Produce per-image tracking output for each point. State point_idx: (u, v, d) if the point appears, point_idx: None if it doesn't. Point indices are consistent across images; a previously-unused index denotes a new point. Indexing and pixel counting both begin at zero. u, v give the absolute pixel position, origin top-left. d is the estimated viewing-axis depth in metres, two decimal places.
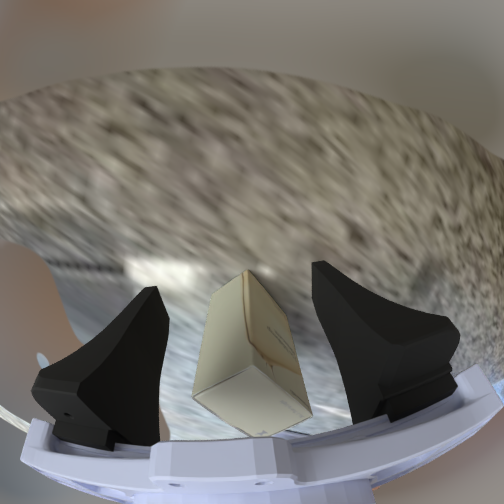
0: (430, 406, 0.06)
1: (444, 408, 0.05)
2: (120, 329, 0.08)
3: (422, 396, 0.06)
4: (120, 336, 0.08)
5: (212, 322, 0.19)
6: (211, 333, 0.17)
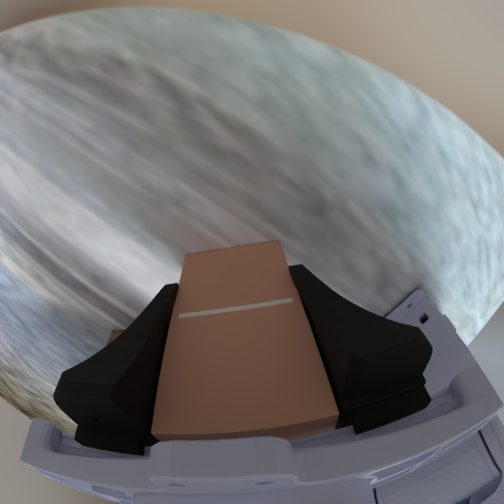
0: (400, 419, 0.05)
1: (444, 408, 0.05)
2: (145, 327, 0.08)
3: (390, 409, 0.06)
4: (147, 334, 0.08)
5: None
6: None
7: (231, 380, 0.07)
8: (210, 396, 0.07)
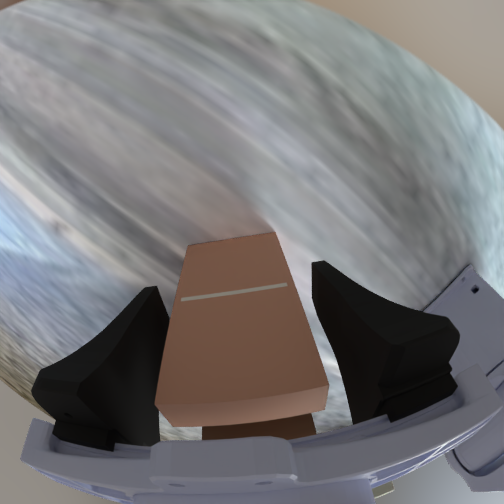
0: (430, 406, 0.06)
1: (444, 408, 0.05)
2: (120, 329, 0.08)
3: (422, 396, 0.06)
4: (120, 336, 0.08)
5: None
6: None
7: (229, 355, 0.08)
8: (210, 370, 0.08)
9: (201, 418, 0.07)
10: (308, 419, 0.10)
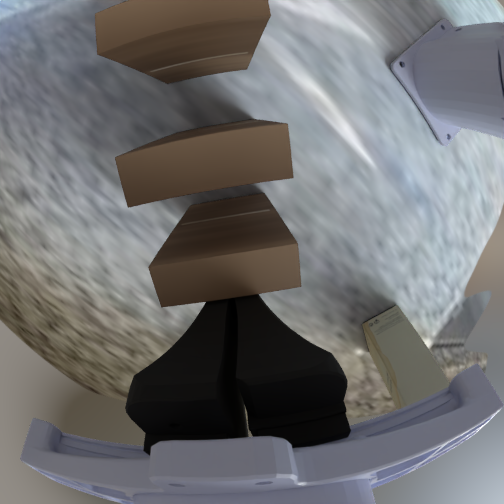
0: (315, 446, 0.05)
1: (444, 408, 0.05)
2: (216, 320, 0.08)
3: (300, 434, 0.05)
4: (222, 327, 0.08)
5: None
6: None
7: None
8: None
9: None
10: None
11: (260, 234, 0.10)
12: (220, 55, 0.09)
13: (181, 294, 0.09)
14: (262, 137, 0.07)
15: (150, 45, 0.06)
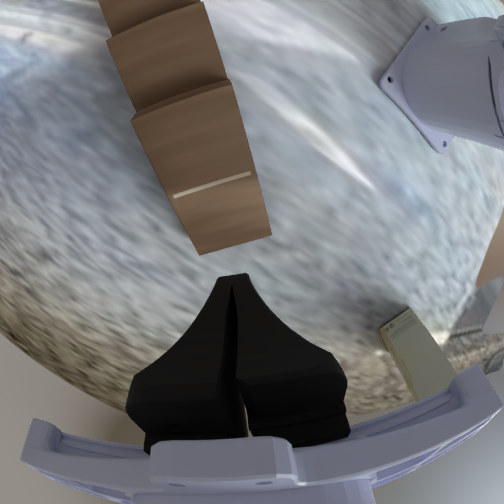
0: (315, 446, 0.05)
1: (444, 408, 0.05)
2: (216, 320, 0.08)
3: (300, 434, 0.05)
4: (222, 327, 0.08)
5: None
6: None
7: None
8: None
9: None
10: None
11: None
12: None
13: (148, 111, 0.11)
14: None
15: None
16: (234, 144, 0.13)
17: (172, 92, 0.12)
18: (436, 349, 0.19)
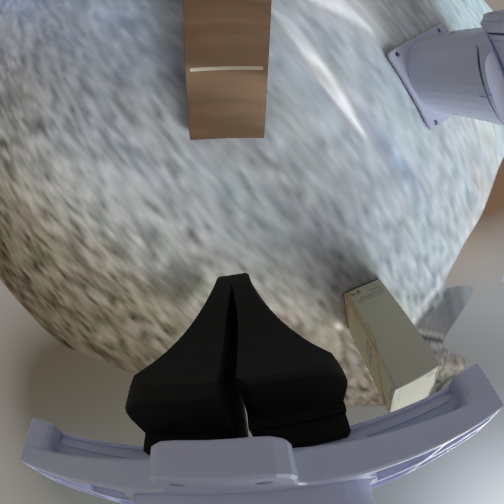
0: (315, 446, 0.05)
1: (444, 408, 0.05)
2: (216, 320, 0.08)
3: (300, 435, 0.05)
4: (222, 327, 0.08)
5: None
6: None
7: None
8: None
9: None
10: None
11: None
12: None
13: None
14: None
15: None
16: (257, 40, 0.12)
17: None
18: (404, 318, 0.21)
